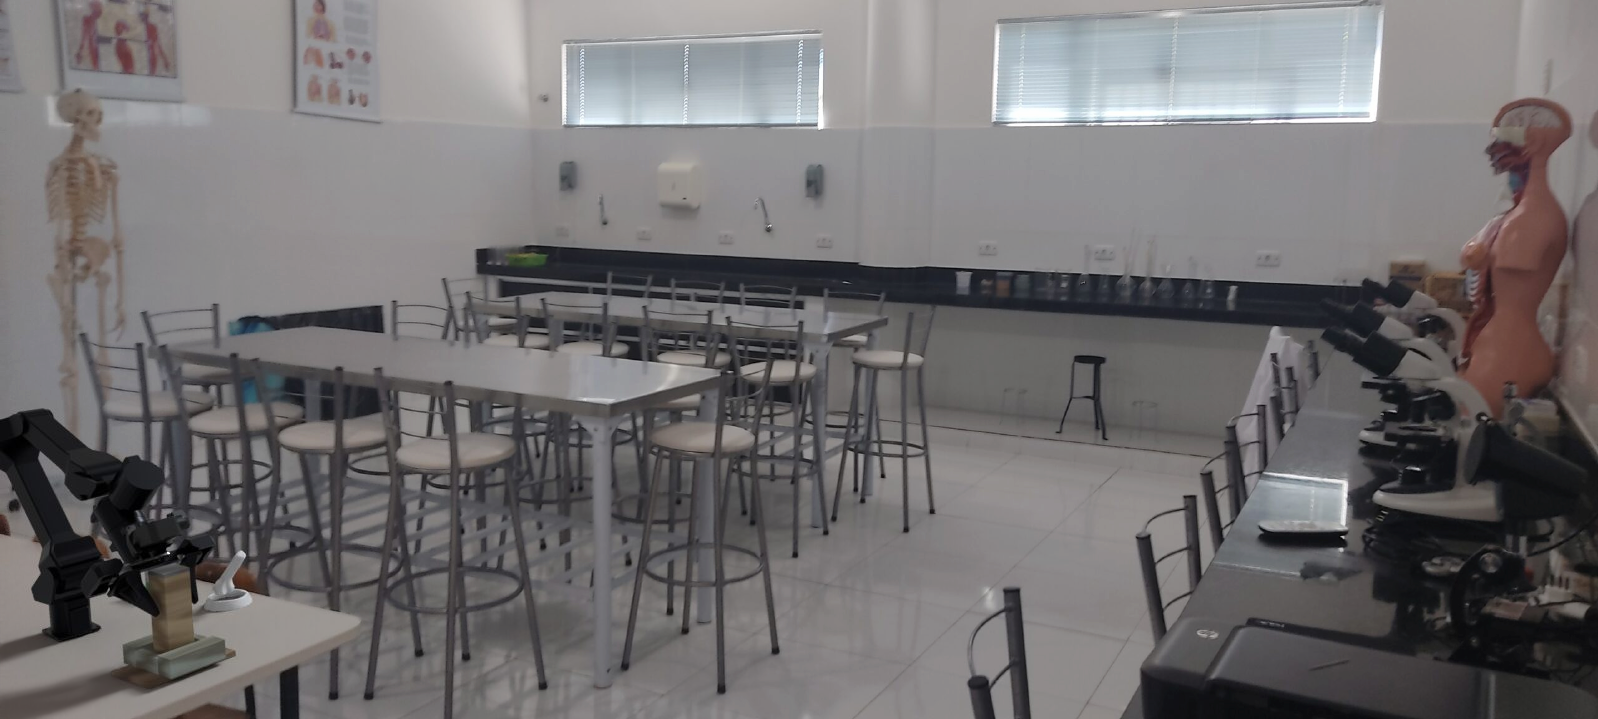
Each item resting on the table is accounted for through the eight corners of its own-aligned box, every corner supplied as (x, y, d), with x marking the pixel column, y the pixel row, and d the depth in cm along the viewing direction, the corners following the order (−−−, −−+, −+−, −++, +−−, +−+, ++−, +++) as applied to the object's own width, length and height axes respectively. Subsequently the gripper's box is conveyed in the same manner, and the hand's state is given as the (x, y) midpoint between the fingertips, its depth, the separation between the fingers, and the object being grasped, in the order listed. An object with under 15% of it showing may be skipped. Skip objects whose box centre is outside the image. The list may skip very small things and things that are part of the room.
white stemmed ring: (264, 584, 195) (226, 564, 193) (230, 633, 198) (193, 614, 196) (279, 561, 202) (242, 542, 200) (246, 609, 205) (210, 590, 203)
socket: (107, 674, 170) (105, 650, 170) (194, 642, 183) (192, 620, 182) (154, 690, 165) (153, 665, 164) (241, 656, 177) (239, 633, 177)
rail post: (154, 662, 173) (147, 570, 171) (179, 653, 176) (173, 563, 174) (170, 667, 171) (163, 574, 169) (195, 658, 174) (189, 567, 172)
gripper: (85, 511, 164) (137, 598, 160) (205, 483, 180) (254, 562, 177) (58, 555, 168) (108, 640, 165) (177, 524, 185) (224, 601, 181)
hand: (177, 608), depth 172 cm, fingers open, 6 cm apart
